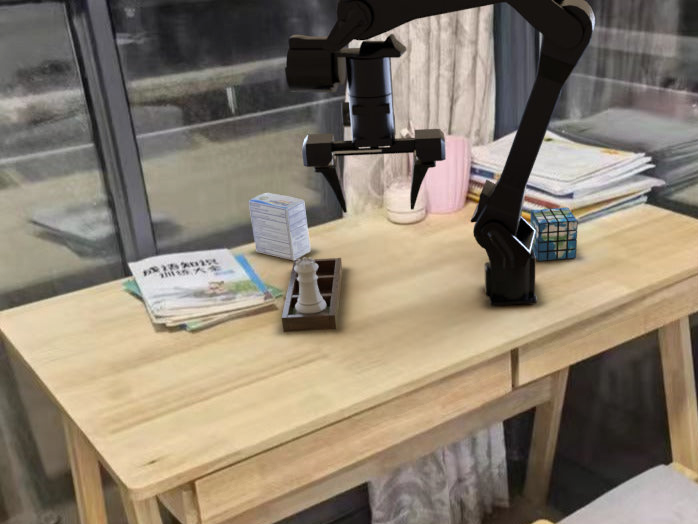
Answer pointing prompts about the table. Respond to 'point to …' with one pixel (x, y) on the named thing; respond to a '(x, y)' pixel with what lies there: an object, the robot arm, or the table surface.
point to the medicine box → (279, 226)
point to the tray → (328, 289)
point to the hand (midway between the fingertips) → (378, 210)
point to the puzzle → (554, 233)
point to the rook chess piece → (308, 288)
